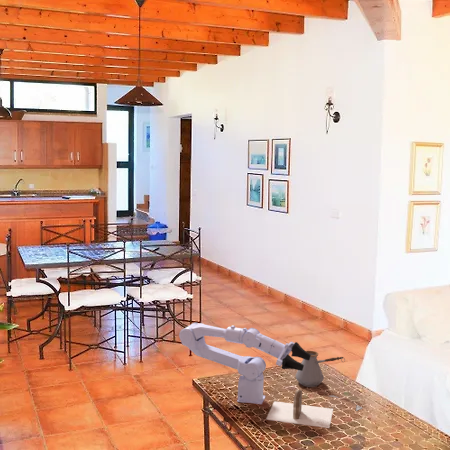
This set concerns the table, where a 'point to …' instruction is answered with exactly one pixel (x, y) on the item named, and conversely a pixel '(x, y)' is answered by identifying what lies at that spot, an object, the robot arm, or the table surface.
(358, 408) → the handheld gaming device
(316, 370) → the coffee pot
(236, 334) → the robot arm
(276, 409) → the mat
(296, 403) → the tile
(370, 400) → the table surface
